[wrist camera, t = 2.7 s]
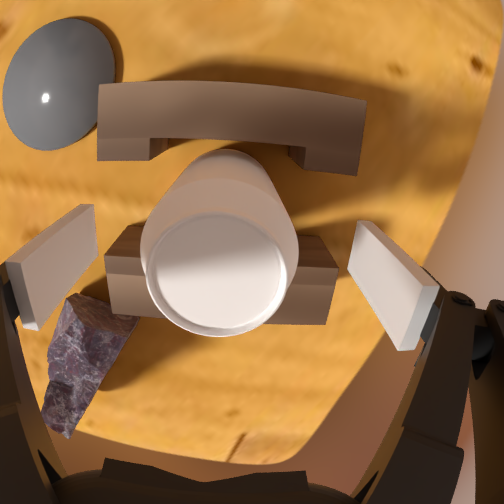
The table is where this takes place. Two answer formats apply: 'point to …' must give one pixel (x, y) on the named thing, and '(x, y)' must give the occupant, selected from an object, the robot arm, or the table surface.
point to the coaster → (57, 83)
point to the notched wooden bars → (237, 129)
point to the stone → (81, 358)
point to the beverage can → (219, 246)
